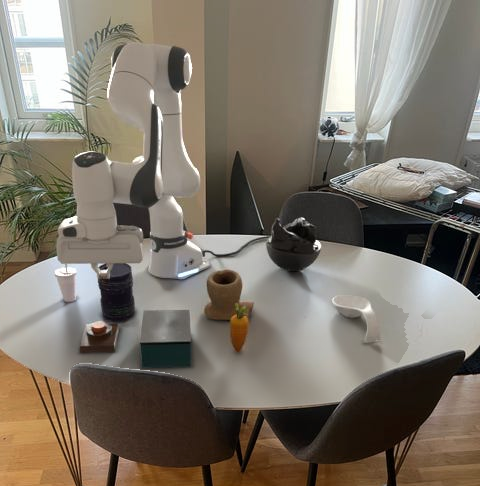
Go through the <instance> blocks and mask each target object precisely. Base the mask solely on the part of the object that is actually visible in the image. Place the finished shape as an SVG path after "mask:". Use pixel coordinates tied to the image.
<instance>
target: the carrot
mask: <svg viewBox="0 0 480 486" xmlns="http://www.w3.org/2000/svg"><path fill="white" fill-rule="evenodd" d="M235 306H236V314H237V315H234V316H233V317H232V318H231V320H229V337H230V341H231V345H232V347H233V349H234V351H235V352H236V353H237V354H238V353H240V352H241V350H242V349H243V347H244V345H245V343H246V341H247V336H248V334H249V333H248V332H249V324H250V320H249V318H247V317H246V316H245V315H246V314H245V313H244V314H242V313H243V312H244V310H245V308H246V307H247V306H244V307H242V308H241V310H240V312H239V307H238V303H236V304H235Z"/></svg>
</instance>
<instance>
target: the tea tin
mask: <svg viewBox="0 0 480 486" xmlns="http://www.w3.org/2000/svg"><path fill="white" fill-rule="evenodd" d="M139 346H140V360H141V369H160V368H164V369H165V368H191V367H192V343H191V344H164V345H140V344H139Z"/></svg>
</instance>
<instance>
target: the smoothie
mask: <svg viewBox="0 0 480 486" xmlns="http://www.w3.org/2000/svg"><path fill="white" fill-rule="evenodd" d="M77 274H78V273H77V269H76V268H74V267H70V266H68V264H64V267H59V268H58V269H55V271H54V277H55V278H56V279H57V283H58V286H59V290H60V292H61V295H62V299H63V301H64V302H66V303H70V302H71V303H72V302H74V301H76V300H77Z"/></svg>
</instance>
